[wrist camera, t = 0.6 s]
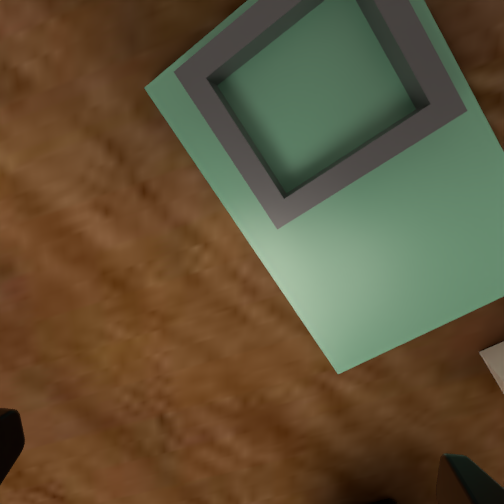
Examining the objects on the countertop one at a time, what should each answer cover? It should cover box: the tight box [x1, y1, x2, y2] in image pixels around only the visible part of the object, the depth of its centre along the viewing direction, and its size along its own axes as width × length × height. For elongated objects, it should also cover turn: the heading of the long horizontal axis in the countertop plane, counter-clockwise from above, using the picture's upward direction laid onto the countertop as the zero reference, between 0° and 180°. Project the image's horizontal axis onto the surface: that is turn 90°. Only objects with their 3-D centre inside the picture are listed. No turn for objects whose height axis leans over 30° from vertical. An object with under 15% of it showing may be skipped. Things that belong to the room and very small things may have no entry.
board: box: [144, 0, 504, 374], centre depth 17 cm, size 18×12×3 cm, turn 34°
